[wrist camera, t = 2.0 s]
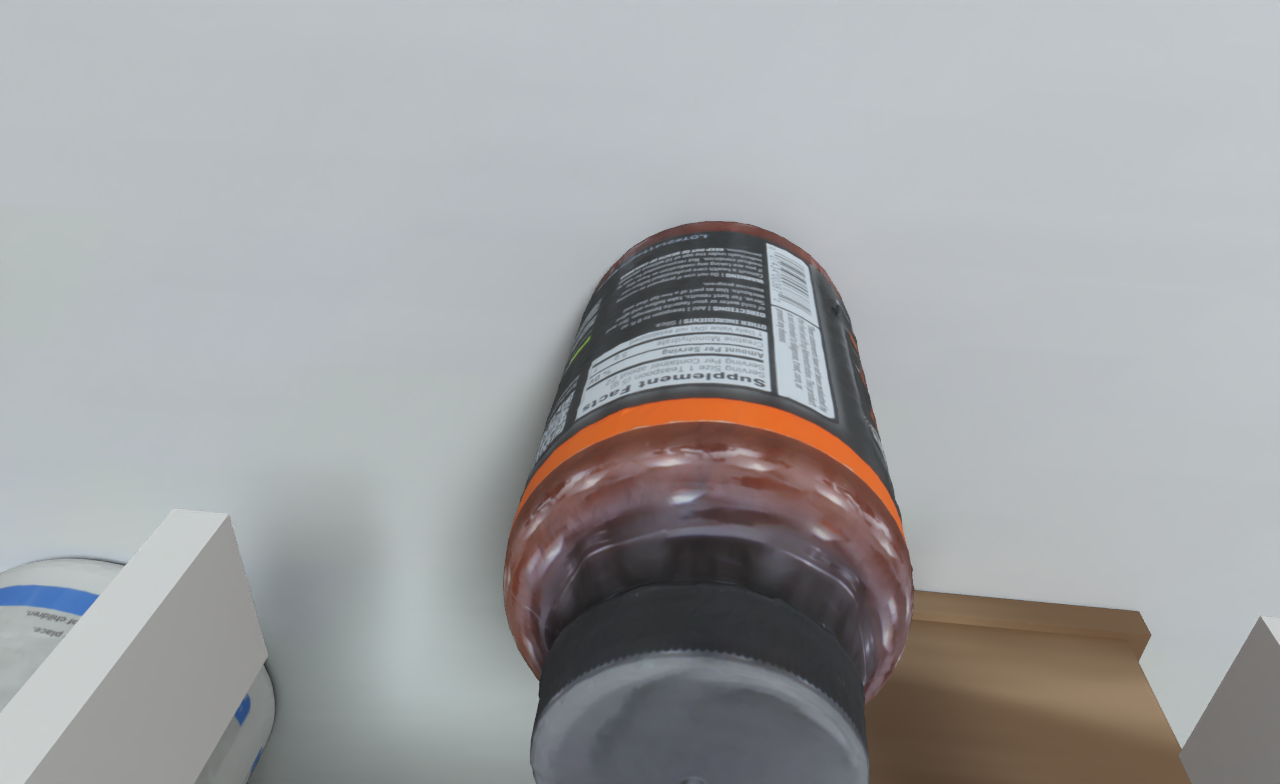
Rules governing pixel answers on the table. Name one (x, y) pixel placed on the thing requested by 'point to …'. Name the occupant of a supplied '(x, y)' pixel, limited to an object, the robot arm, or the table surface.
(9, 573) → the supplement tub
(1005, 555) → the table surface
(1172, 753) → the holder cradle
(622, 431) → the supplement bottle
